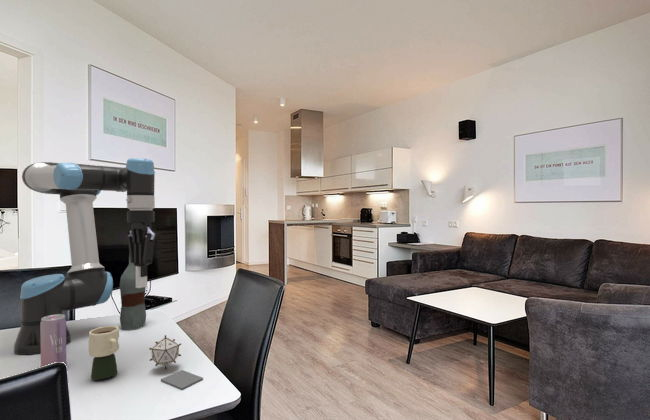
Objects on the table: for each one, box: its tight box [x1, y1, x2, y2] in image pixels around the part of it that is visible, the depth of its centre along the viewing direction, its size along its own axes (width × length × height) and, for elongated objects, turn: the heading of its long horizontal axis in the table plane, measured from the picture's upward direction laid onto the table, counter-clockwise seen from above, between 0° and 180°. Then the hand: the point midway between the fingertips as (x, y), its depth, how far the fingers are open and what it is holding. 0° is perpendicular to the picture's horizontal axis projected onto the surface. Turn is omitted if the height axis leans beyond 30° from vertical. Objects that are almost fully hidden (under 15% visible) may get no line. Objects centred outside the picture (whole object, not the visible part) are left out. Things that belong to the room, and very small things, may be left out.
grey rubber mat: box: [160, 369, 204, 391], centre depth 97 cm, size 9×7×1 cm
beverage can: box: [40, 313, 67, 368], centre depth 105 cm, size 6×6×15 cm
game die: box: [148, 334, 182, 370], centre depth 104 cm, size 9×8×10 cm
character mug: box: [88, 325, 120, 381], centre depth 100 cm, size 11×7×13 cm, turn 60°
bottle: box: [119, 252, 147, 331], centre depth 142 cm, size 9×9×30 cm
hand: (141, 286), depth 111 cm, fingers closed
